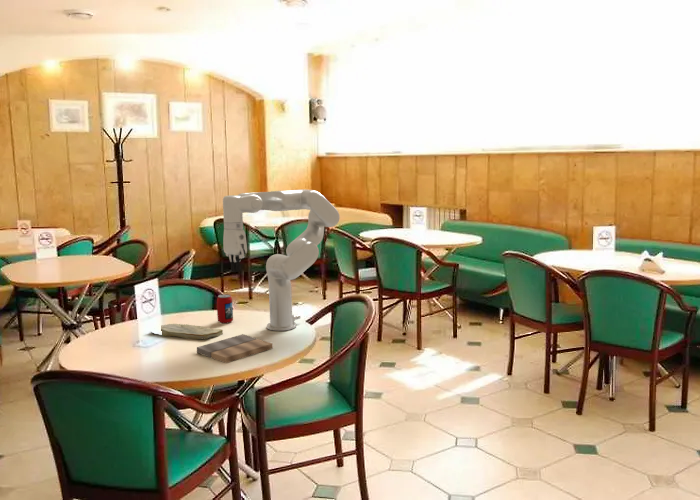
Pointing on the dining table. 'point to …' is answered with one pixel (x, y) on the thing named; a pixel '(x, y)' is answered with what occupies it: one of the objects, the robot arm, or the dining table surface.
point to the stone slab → (189, 331)
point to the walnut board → (241, 350)
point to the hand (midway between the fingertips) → (235, 271)
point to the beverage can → (224, 308)
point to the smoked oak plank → (223, 344)
